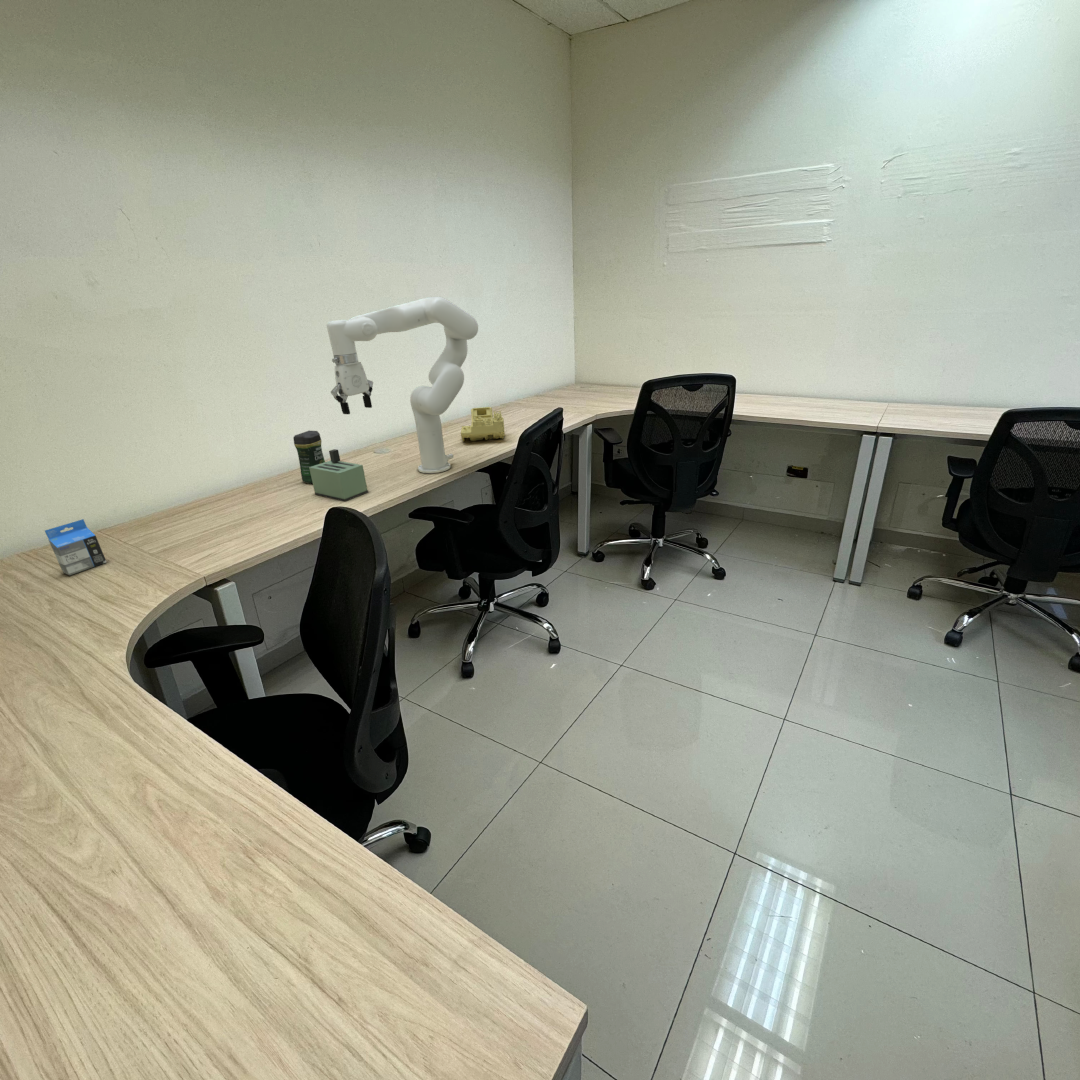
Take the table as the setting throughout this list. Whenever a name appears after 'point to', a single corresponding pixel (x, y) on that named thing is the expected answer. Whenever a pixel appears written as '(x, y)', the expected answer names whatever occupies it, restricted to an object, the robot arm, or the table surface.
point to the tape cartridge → (75, 547)
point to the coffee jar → (308, 452)
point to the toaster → (338, 480)
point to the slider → (334, 455)
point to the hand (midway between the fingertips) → (357, 410)
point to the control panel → (484, 425)
